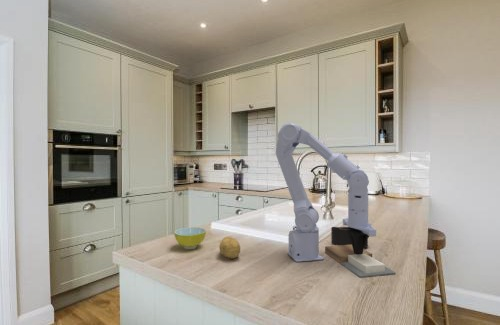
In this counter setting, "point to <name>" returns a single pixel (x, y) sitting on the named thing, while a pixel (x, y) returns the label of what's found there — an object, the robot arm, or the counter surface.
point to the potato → (229, 247)
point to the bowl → (190, 236)
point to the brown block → (342, 252)
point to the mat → (362, 274)
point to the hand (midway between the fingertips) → (358, 253)
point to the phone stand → (342, 236)
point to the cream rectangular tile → (366, 263)
